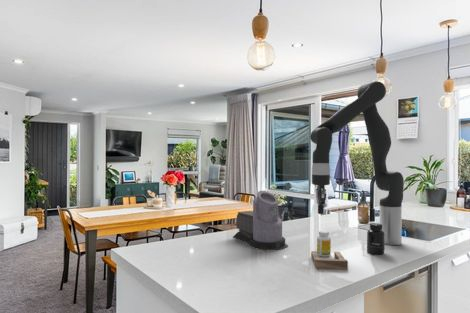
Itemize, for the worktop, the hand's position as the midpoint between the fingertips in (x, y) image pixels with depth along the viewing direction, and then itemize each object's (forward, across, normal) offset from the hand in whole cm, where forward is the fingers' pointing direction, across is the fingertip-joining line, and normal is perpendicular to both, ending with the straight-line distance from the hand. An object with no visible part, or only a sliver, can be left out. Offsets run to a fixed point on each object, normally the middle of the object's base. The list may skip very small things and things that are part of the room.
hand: (320, 213), depth 140 cm
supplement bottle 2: (+16, -3, -22) cm, 27 cm away
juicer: (+16, +10, +26) cm, 32 cm away
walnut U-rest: (+16, -18, 0) cm, 24 cm away
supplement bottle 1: (+16, -8, 0) cm, 18 cm away
